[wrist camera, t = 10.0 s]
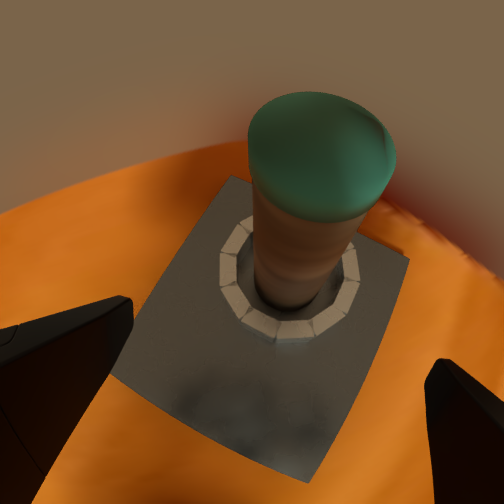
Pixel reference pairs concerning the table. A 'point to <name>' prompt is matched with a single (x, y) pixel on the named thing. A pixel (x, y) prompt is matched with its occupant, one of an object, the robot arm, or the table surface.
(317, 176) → the travel tumbler
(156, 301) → the hub
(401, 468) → the table surface
